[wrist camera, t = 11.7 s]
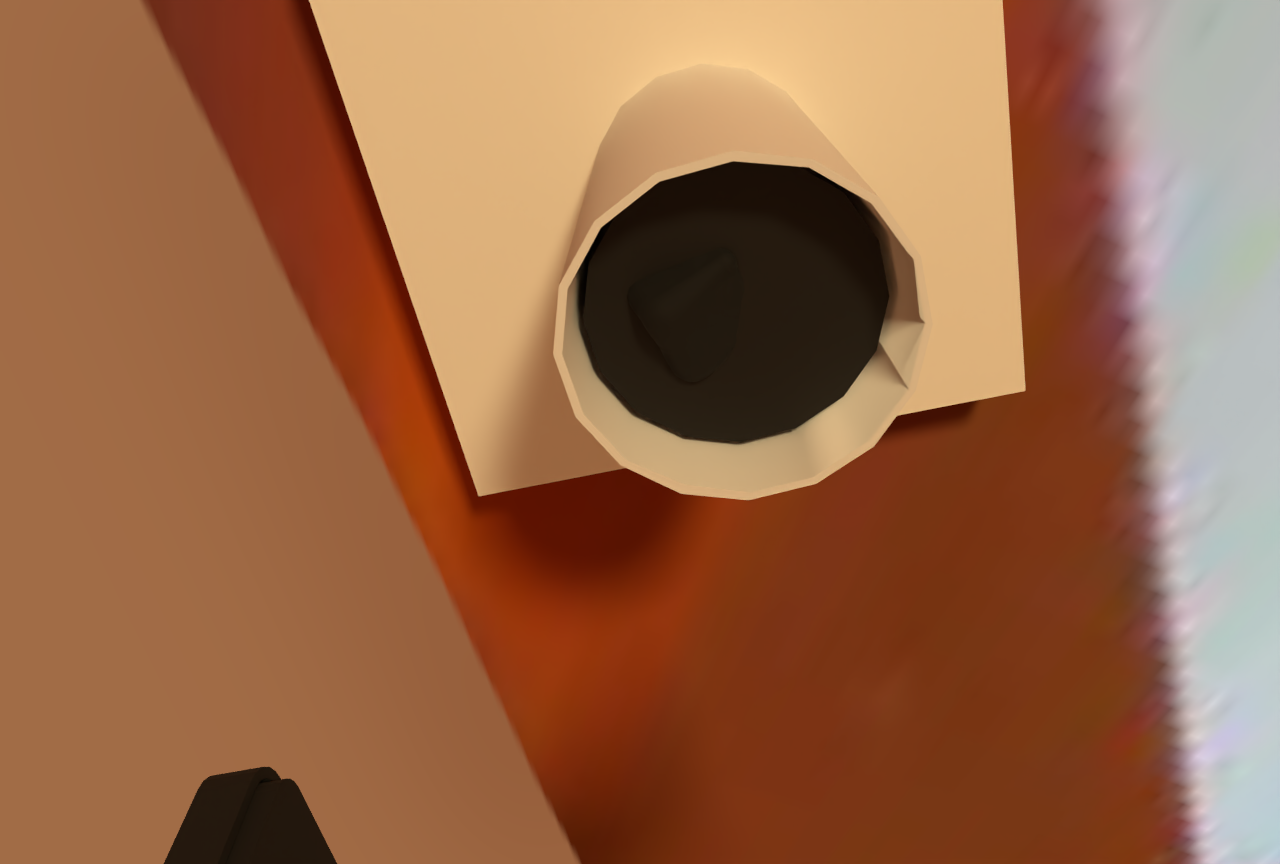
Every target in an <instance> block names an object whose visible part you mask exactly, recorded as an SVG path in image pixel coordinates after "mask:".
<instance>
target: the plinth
mask: <svg viewBox="0 0 1280 864" xmlns="http://www.w3.org/2000/svg"><path fill="white" fill-rule="evenodd" d="M309 2H310V5H311V8H312V11H313V14H314V17H315V20H316V22H317V25H318V28H319V31H320V34H321V37H322V40H323V43H324V46H325V49H326V52H327V55H328V58H329V60H330V63H331V66H332V69H333V72H334V75H335V78H336V81H337V84H338V87H339V90H340V93H341V96H342V98H343V101H344V104H345V107H346V110H347V113H348V116H349V119H350V122H351V125H352V128H353V131H354V134H355V137H356V139H357V142H358V145H359V148H360V151H361V154H362V157H363V160H364V163H365V166H366V169H367V172H368V175H369V177H370V180H371V183H372V186H373V189H374V192H375V195H376V198H377V201H378V204H379V207H380V210H381V213H382V215H383V218H384V221H385V224H386V227H387V230H388V233H389V236H390V239H391V242H392V245H393V248H394V251H395V253H396V256H397V259H398V262H399V265H400V268H401V271H402V274H403V277H404V280H405V283H406V286H407V289H408V292H409V294H410V297H411V300H412V303H413V306H414V309H415V312H416V315H417V318H418V321H419V324H420V327H421V330H422V332H423V335H424V338H425V341H426V344H427V347H428V350H429V353H430V356H431V359H432V362H433V365H434V368H435V370H436V373H437V376H438V379H439V382H440V385H441V388H442V391H443V394H444V397H445V400H446V403H447V406H448V409H449V411H450V414H451V417H452V420H453V423H454V426H455V429H456V432H457V435H458V438H459V441H460V444H461V447H462V449H463V452H464V455H465V458H466V461H467V464H468V467H469V470H470V473H471V476H472V479H473V482H474V485H475V487H476V490H477V493H478V496H484V495H489V494H494V493H499V492H504V491H509V490H515V489H520V488H525V487H530V486H535V485H540V484H546V483H551V482H556V481H561V480H566V479H572V478H577V477H582V476H587V475H592V474H597V473H603V472H608V471H613V470H618V469H623V468H625V467H623V466H621V465H620V464H619V463H618V462H617V461H616V460H615V459H614V458H613V457H612V456H611V455H610V453H609V452H608V451H607V450H606V449H605V448H604V447H603V446H602V445H601V444H600V443H599V442H598V441H597V440H596V439H595V437H594V436H593V435H592V434H591V433H590V432H589V431H588V430H587V429H586V428H585V427H584V426H583V425H582V424H581V422H580V421H579V420H578V419H577V418H576V417H575V414H574V412H573V409H572V406H571V403H570V400H569V398H568V395H567V392H566V389H565V386H564V384H563V381H562V378H561V375H560V372H559V370H558V367H557V364H556V361H555V358H554V356H553V350H554V338H555V326H556V314H557V302H558V290H559V283H560V280H561V277H562V273H563V270H564V266H565V263H566V259H567V256H568V253H569V249H570V246H571V242H572V239H573V235H574V232H575V229H576V225H577V222H578V218H579V215H580V212H581V208H582V205H583V201H584V198H585V194H586V191H587V188H588V184H589V181H590V177H591V174H592V170H593V167H594V164H595V160H596V157H597V153H598V150H599V146H600V144H601V142H602V140H603V138H604V137H605V135H606V133H607V131H608V129H609V127H610V125H611V123H612V122H613V120H614V118H615V116H616V114H617V112H618V110H619V108H620V107H621V106H622V105H623V104H624V103H625V102H627V101H628V100H629V99H630V98H632V97H633V96H634V95H635V94H636V93H638V92H639V91H640V90H641V89H643V88H644V87H645V86H646V85H647V84H649V83H650V82H651V81H652V80H654V79H655V78H656V77H658V76H662V75H665V74H668V73H672V72H675V71H678V70H682V69H685V68H689V67H692V66H695V65H699V64H708V65H717V66H725V67H734V68H743V69H748V70H750V71H751V72H753V73H755V74H757V75H758V76H760V77H762V78H763V79H765V80H767V81H769V82H770V83H772V84H774V85H775V86H777V87H779V88H780V89H782V90H784V91H786V92H787V93H788V95H789V96H790V97H791V98H792V99H793V100H794V102H795V103H796V104H797V105H798V106H799V107H800V108H801V110H802V111H803V112H804V113H805V114H806V115H807V116H808V117H809V119H810V120H811V121H812V122H813V123H814V124H815V125H816V126H817V128H818V129H819V130H820V131H821V132H822V133H823V134H824V135H825V137H826V138H827V139H828V140H829V141H830V142H831V143H832V145H833V146H834V147H835V148H836V149H837V150H838V151H839V152H840V154H841V155H842V156H843V157H844V158H845V159H846V160H847V161H848V163H849V164H850V165H851V166H852V167H853V168H854V169H855V171H856V172H857V173H858V174H859V175H860V176H861V177H862V178H863V180H864V181H865V182H866V183H867V184H868V185H869V186H870V187H871V189H872V190H873V191H874V192H875V193H876V194H877V195H878V196H879V198H880V199H881V201H882V202H883V203H884V205H885V206H886V208H887V209H888V210H889V212H890V213H891V215H892V216H893V217H894V219H895V220H896V222H897V223H898V225H899V226H900V227H901V229H902V230H903V232H904V233H905V234H906V236H907V237H908V239H909V240H910V242H911V243H912V244H913V246H914V247H915V249H916V250H917V251H918V253H919V254H920V256H921V260H922V266H923V271H924V277H925V283H926V289H927V294H928V300H929V306H930V312H931V317H932V323H933V325H932V329H931V333H930V337H929V341H928V345H927V349H926V353H925V356H924V360H923V364H922V368H921V372H920V376H919V380H918V383H917V387H916V391H915V392H914V394H913V395H912V396H911V398H910V399H909V400H908V402H907V403H906V404H905V406H904V407H903V408H902V410H901V411H900V412H899V414H898V415H903V414H908V413H913V412H918V411H924V410H929V409H934V408H939V407H944V406H950V405H955V404H960V403H965V402H970V401H975V400H981V399H986V398H991V397H996V396H1001V395H1006V394H1012V393H1017V392H1022V391H1025V375H1024V358H1023V341H1022V324H1021V307H1020V290H1019V273H1018V256H1017V239H1016V223H1015V206H1014V189H1013V172H1012V155H1011V138H1010V121H1009V104H1008V87H1007V70H1006V53H1005V36H1004V19H1003V2H1002V0H309ZM898 415H897V416H898Z"/></svg>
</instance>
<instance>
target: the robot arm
mask: <svg viewBox="0 0 1280 864" xmlns="http://www.w3.org/2000/svg"><path fill="white" fill-rule="evenodd" d="M164 864H337V863H336V861H335V859H334V857H333V855H332V853H331V851H330V849H329V847H328V845H327V843H326V841H325V839H324V837H323V835H322V833H321V831H320V829H319V827H318V825H317V823H316V821H315V819H314V817H313V815H312V813H311V811H310V809H309V807H308V805H307V803H306V801H305V799H304V797H303V795H302V793H301V792H300V789H299V787H298V786H297V785H296V783H295V782H294V781H293V780H291V779H282V780H281V778H280V777H279V776H278V774H277V773H276V771H274V770H273V769H272V768H270V767H260V768H255V769H248V770H243V771H237V772H231V773H225V774H219V775H214V776H210V777H208V778H207V779H206V780H204V781H203V782H202V784H201V786H200V787H199V789H198V791H197V793H196V795H195V797H194V799H193V801H192V804H191V806H190V808H189V810H188V812H187V814H186V817H185V819H184V821H183V823H182V825H181V827H180V830H179V832H178V834H177V836H176V838H175V840H174V843H173V845H172V847H171V849H170V851H169V853H168V856H167V858H166V860H165V862H164Z"/></svg>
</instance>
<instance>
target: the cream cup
mask: <svg viewBox="0 0 1280 864" xmlns="http://www.w3.org/2000/svg"><path fill="white" fill-rule="evenodd" d="M932 325H933V323H932V317H931V312H930V306H929V300H928V294H927V289H926V283H925V277H924V271H923V266H922V260H921V256H920V254H919V253H918V251H917V250H916V249H915V247H914V246H913V244H912V243H911V242H910V240H909V239H908V237H907V236H906V234H905V233H904V232H903V230H902V229H901V227H900V226H899V225H898V223H897V222H896V220H895V219H894V217H893V216H892V215H891V213H890V212H889V210H888V209H887V208H886V206H885V205H884V203H883V202H882V201H881V199H880V198H879V196H878V195H877V194H876V193H875V192H874V191H873V190H872V189H871V187H870V186H869V185H868V184H867V183H866V182H865V181H864V180H863V178H862V177H861V176H860V175H859V174H858V173H857V172H856V171H855V169H854V168H853V167H852V166H851V165H850V164H849V163H848V161H847V160H846V159H845V158H844V157H843V156H842V155H841V154H840V152H839V151H838V150H837V149H836V148H835V147H834V146H833V145H832V143H831V142H830V141H829V140H828V139H827V138H826V137H825V135H824V134H823V133H822V132H821V131H820V130H819V129H818V128H817V126H816V125H815V124H814V123H813V122H812V121H811V120H810V119H809V117H808V116H807V115H806V114H805V113H804V112H803V111H802V110H801V108H800V107H799V106H798V105H797V104H796V103H795V102H794V100H793V99H792V98H791V97H790V96H789V95H788V93H787V92H786V91H784V90H782V89H780V88H779V87H777V86H775V85H774V84H772V83H770V82H769V81H767V80H765V79H763V78H762V77H760V76H758V75H757V74H755V73H753V72H751V71H750V70H748V69H743V68H734V67H725V66H717V65H708V64H699V65H695V66H692V67H689V68H685V69H682V70H678V71H675V72H672V73H668V74H665V75H662V76H658V77H656V78H655V79H654V80H652V81H651V82H650V83H649V84H647V85H646V86H645V87H644V88H643V89H641V90H640V91H639V92H638V93H636V94H635V95H634V96H633V97H632V98H630V99H629V100H628V101H627V102H625V103H624V104H623V105H622V106H621V107H620V108H619V110H618V112H617V114H616V116H615V118H614V120H613V122H612V123H611V125H610V127H609V129H608V131H607V133H606V135H605V137H604V138H603V140H602V142H601V144H600V146H599V150H598V153H597V157H596V160H595V164H594V167H593V170H592V174H591V177H590V181H589V184H588V188H587V191H586V194H585V198H584V201H583V205H582V208H581V212H580V215H579V218H578V222H577V225H576V229H575V232H574V235H573V239H572V242H571V246H570V249H569V253H568V256H567V259H566V263H565V266H564V270H563V273H562V277H561V280H560V283H559V290H558V302H557V314H556V326H555V338H554V350H553V356H554V358H555V361H556V364H557V367H558V370H559V372H560V375H561V378H562V381H563V384H564V386H565V389H566V392H567V395H568V398H569V400H570V403H571V406H572V409H573V412H574V414H575V417H576V418H577V419H578V420H579V421H580V422H581V424H582V425H583V426H584V427H585V428H586V429H587V430H588V431H589V432H590V433H591V434H592V435H593V436H594V437H595V439H596V440H597V441H598V442H599V443H600V444H601V445H602V446H603V447H604V448H605V449H606V450H607V451H608V452H609V453H610V455H611V456H612V457H613V458H614V459H615V460H616V461H617V462H618V463H619V464H620V465H621V466H623V467H625V468H627V469H629V470H632V471H634V472H636V473H638V474H640V475H642V476H644V477H646V478H649V479H651V480H653V481H655V482H657V483H659V484H661V485H663V486H665V487H668V488H670V489H672V490H674V491H676V492H678V493H680V494H688V495H699V496H710V497H721V498H731V499H742V500H751V499H755V498H760V497H764V496H768V495H772V494H776V493H780V492H784V491H788V490H792V489H796V488H801V487H805V486H809V485H813V484H816V483H818V482H819V481H821V480H823V479H824V478H826V477H827V476H829V475H830V474H832V473H833V472H835V471H836V470H838V469H840V468H841V467H843V466H844V465H846V464H847V463H849V462H850V461H852V460H854V459H855V458H857V457H858V456H860V455H861V454H863V453H864V452H866V451H867V450H869V449H871V448H872V447H874V446H875V444H876V443H877V442H878V440H879V439H880V438H881V436H882V435H883V434H884V432H885V431H886V430H887V428H888V427H889V426H890V424H891V423H892V422H893V420H894V419H895V418H896V416H897V415H898V414H899V412H900V411H901V410H902V408H903V407H904V406H905V404H906V403H907V402H908V400H909V399H910V398H911V396H912V395H913V394H914V392H915V391H916V387H917V383H918V380H919V376H920V372H921V368H922V364H923V360H924V356H925V353H926V349H927V345H928V341H929V337H930V333H931V329H932Z"/></svg>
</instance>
